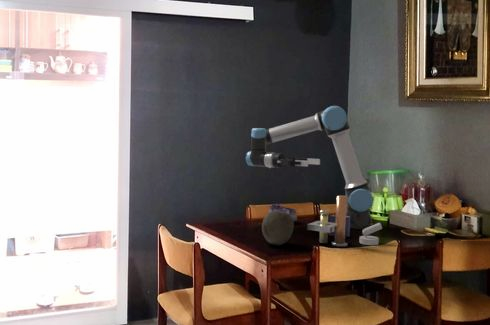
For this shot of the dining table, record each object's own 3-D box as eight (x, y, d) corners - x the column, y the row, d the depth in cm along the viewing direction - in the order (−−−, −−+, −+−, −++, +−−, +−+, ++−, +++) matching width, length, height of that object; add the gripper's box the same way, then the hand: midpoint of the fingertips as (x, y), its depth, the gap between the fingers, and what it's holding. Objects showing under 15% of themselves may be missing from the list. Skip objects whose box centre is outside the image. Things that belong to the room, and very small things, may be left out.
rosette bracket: (306, 242, 268) (308, 194, 266) (317, 238, 277) (319, 192, 275) (341, 248, 259) (344, 198, 257) (351, 244, 268) (353, 195, 266)
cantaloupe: (295, 248, 256) (296, 213, 255) (262, 247, 255) (264, 213, 254) (290, 241, 270) (291, 208, 269) (259, 240, 269) (260, 208, 268)
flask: (349, 235, 286) (350, 212, 285) (349, 237, 283) (350, 213, 282) (329, 234, 289) (330, 210, 288) (328, 235, 286) (329, 211, 285)
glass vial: (326, 241, 272) (327, 210, 271) (329, 243, 268) (330, 211, 267) (317, 241, 271) (318, 209, 271) (319, 243, 267) (321, 211, 266)
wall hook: (385, 224, 267) (363, 224, 266) (384, 245, 268) (362, 245, 267) (379, 220, 275) (358, 220, 275) (378, 241, 276) (357, 240, 275)
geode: (259, 219, 325) (262, 200, 325) (276, 220, 331) (278, 202, 331) (282, 224, 308) (284, 204, 308) (299, 225, 314) (301, 206, 315)
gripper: (286, 166, 308) (324, 168, 297) (262, 169, 286) (302, 172, 275) (286, 151, 307) (324, 153, 296) (262, 153, 286) (302, 156, 275)
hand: (313, 162), depth 286 cm, fingers open, 13 cm apart
